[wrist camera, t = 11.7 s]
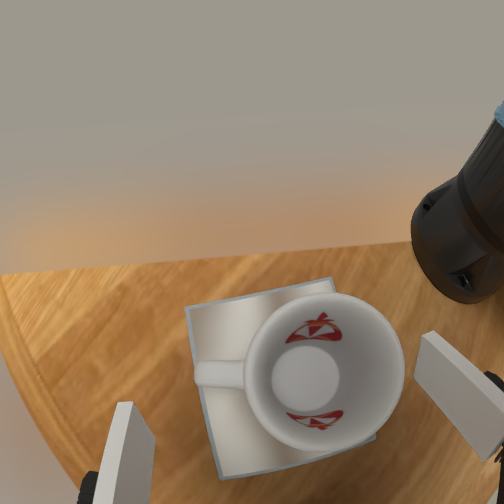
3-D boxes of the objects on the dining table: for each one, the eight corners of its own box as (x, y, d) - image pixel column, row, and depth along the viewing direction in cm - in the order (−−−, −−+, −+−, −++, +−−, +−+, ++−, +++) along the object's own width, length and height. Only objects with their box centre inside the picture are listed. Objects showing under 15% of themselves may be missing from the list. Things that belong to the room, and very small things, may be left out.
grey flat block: (319, 294, 27) (332, 274, 23) (357, 432, 21) (378, 439, 16) (195, 321, 26) (183, 305, 22) (226, 465, 20) (219, 481, 15)
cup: (206, 429, 17) (177, 451, 10) (210, 325, 21) (187, 288, 14) (356, 426, 17) (408, 439, 10) (353, 324, 21) (398, 288, 14)
